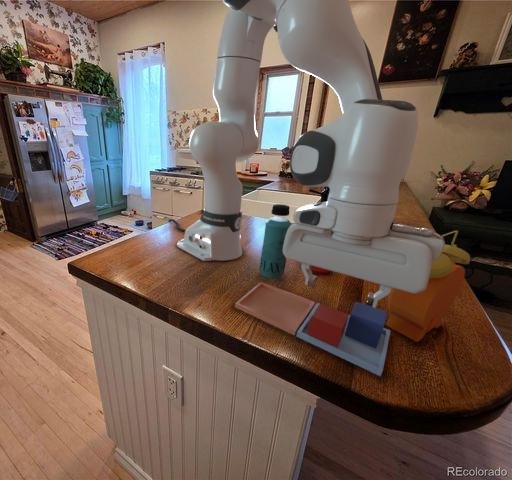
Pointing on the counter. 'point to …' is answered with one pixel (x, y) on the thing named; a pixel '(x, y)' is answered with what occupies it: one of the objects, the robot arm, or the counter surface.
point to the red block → (328, 325)
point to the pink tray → (276, 307)
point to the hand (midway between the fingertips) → (338, 294)
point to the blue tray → (352, 347)
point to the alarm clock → (429, 295)
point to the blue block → (366, 324)
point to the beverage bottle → (275, 243)
